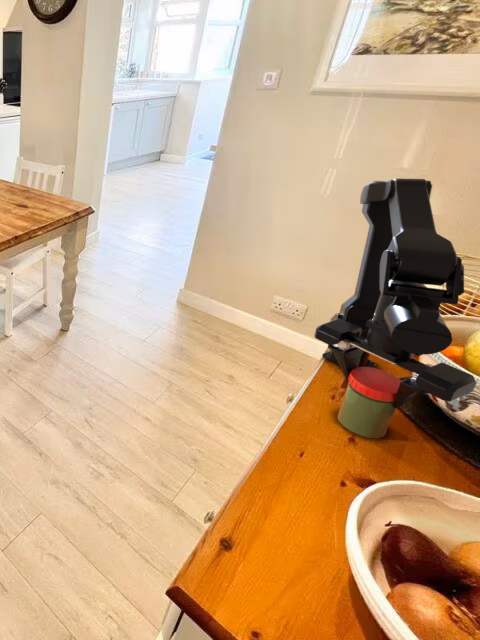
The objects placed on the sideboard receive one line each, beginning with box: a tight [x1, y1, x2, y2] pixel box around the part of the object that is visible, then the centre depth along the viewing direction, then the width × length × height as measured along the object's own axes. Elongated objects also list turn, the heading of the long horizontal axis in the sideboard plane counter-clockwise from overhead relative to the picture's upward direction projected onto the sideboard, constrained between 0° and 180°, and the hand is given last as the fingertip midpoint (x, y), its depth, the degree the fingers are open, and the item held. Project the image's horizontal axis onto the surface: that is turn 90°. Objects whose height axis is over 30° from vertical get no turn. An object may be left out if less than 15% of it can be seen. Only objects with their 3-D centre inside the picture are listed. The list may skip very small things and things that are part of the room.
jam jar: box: [337, 382, 397, 439], centre depth 71 cm, size 6×6×10 cm
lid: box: [347, 367, 402, 402], centre depth 69 cm, size 7×7×2 cm
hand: (372, 394), depth 70 cm, fingers closed on lid, 6 cm apart
